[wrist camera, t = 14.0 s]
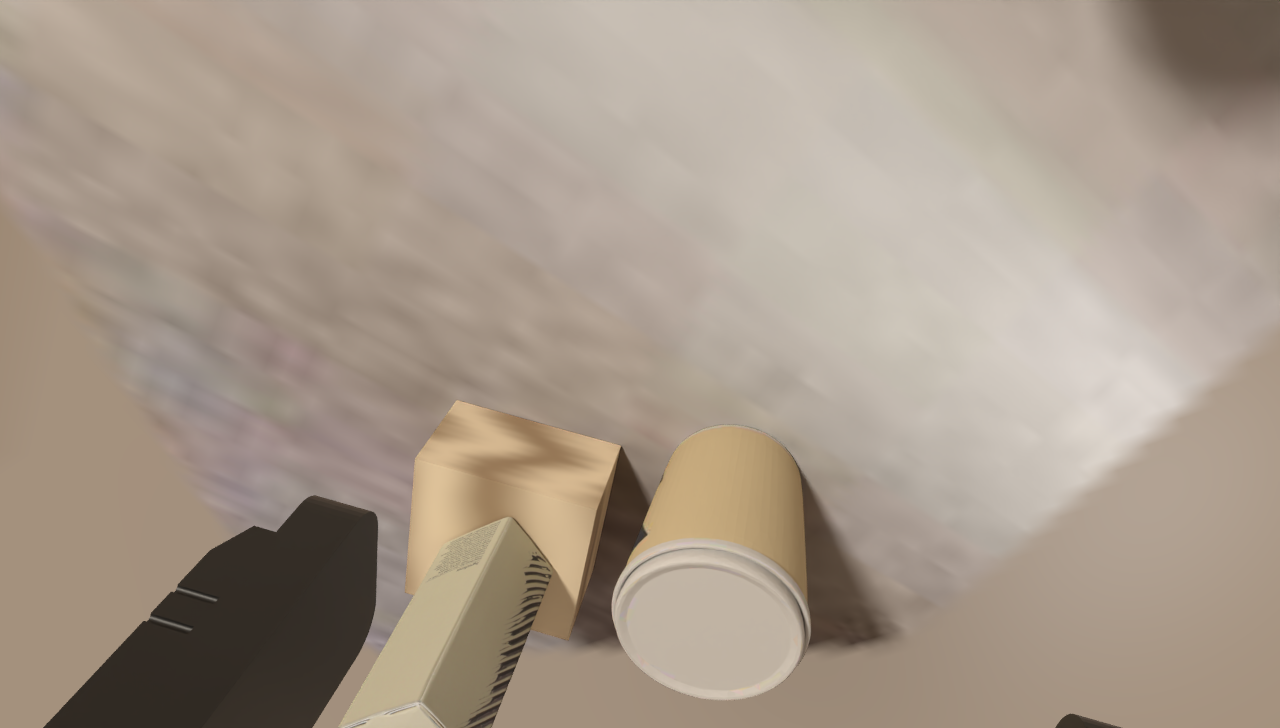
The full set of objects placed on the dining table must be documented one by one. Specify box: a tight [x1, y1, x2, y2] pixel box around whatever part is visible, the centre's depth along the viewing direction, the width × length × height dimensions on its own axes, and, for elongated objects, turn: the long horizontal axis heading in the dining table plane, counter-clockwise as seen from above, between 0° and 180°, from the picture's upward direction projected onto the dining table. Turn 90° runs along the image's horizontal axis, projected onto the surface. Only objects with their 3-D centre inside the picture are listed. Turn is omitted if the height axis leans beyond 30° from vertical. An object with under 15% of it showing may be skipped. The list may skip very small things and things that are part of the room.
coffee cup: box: [612, 425, 811, 700], centre depth 46 cm, size 9×9×12 cm
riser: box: [405, 400, 621, 640], centre depth 52 cm, size 10×10×6 cm
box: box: [338, 517, 553, 728], centre depth 44 cm, size 5×4×13 cm
